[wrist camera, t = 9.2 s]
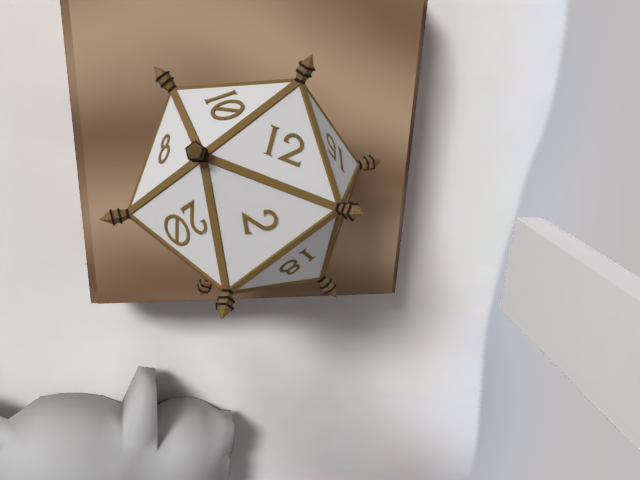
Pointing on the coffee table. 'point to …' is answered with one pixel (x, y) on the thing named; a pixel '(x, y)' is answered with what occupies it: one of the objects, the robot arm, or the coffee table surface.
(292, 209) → the game die
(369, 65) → the plinth
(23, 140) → the coffee table surface
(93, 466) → the grey teddy bear
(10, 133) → the coffee table surface
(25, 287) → the coffee table surface
